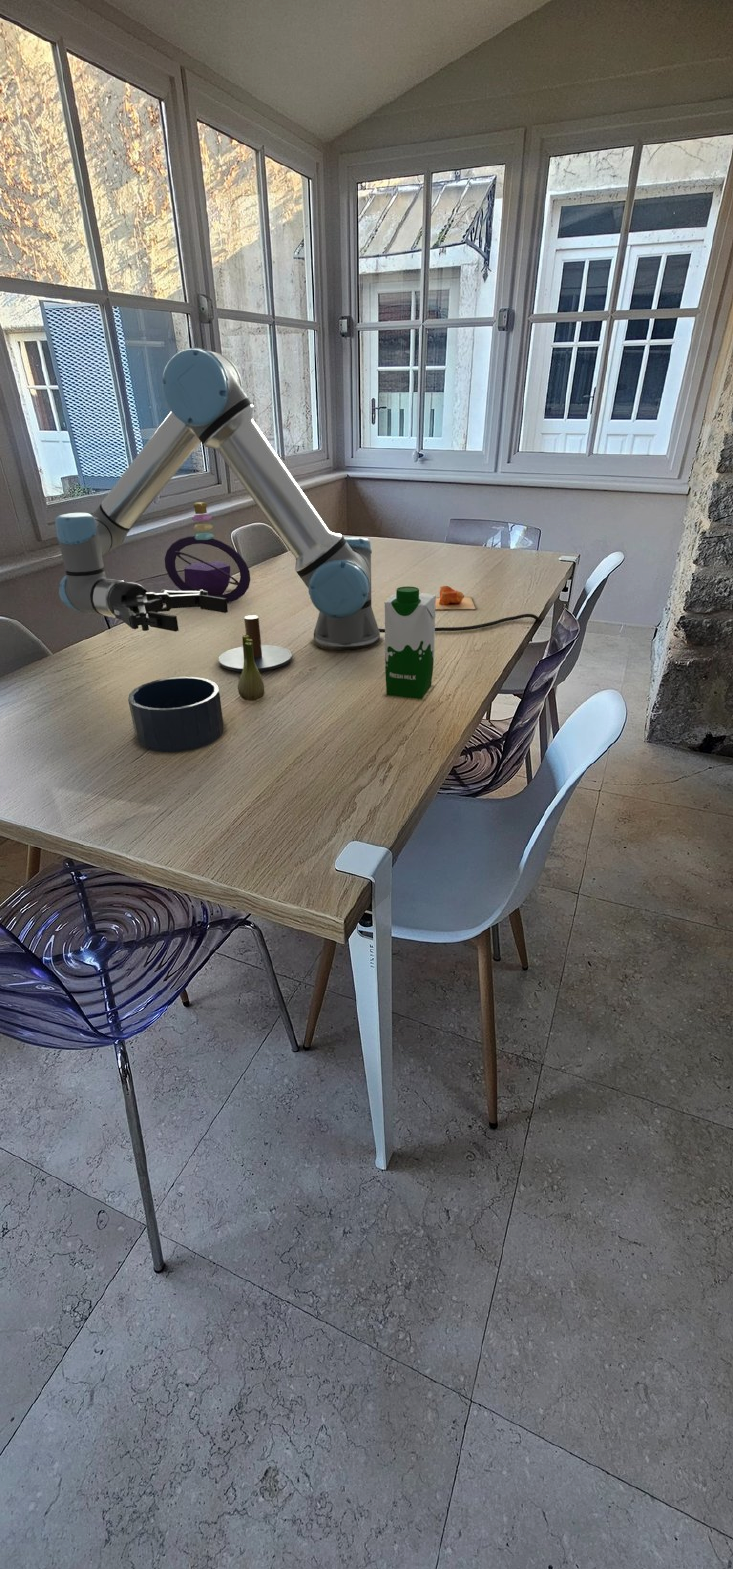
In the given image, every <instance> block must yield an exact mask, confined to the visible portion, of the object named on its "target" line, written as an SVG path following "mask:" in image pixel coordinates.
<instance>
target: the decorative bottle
mask: <svg viewBox="0 0 733 1569" xmlns="http://www.w3.org/2000/svg"><path fill="white" fill-rule="evenodd" d="M207 506H208V504H207V502H203V501H202V502H194V503H193V508H194V513H195V514H194V515H193V517H192V518H191V520H192V521H193V522H206V521H211V520H212V519H213V517H212V516H211V515H210V514H208V511H207ZM213 528H214V526H213V525H212V524H209V523H196V524H195V525H194V526H193V527H192V529H193V530H194V531H196V532H197V531H198V533H196V535H188V536H185V537H182V538H179V539H177V540H176V541H174V542H173V543H172V544H171V545H170V546H169V547H168V548H167V549H166V552H165V555H164V568H165V570H166V573H167V575H168V577H169V579H170V580H171V582H172V583H173V584H174V585H175V586H176V587H177V588H178V589H179V591H200V590H203V591H207V592H208V596H215V597H221V598H226V599H227V604H228V603H232V602H235V601H237V600H239V599H240V598H241V597H243V596H244V595H245V594H246V593H247V591H248V590H249V588H250V584H251V571H250V568H249V567H248V564H247V562H246V561H245V559H244V558H243V557H242V555H241V554H240V553H239V552H238V551H237V550H235V549H234V548H233V547H232V546H230V545H228V544H227V543H225V542H223V541H221V540H219V539H217V538H214V537H215V535H214V534H213V533H211V532H210V533H209V532H206V531H208V530H209V531H210V530H213ZM200 531H201V532H200ZM202 531H203V532H202ZM199 532H200V533H199ZM192 545H207V546H211V547H214V548H218V549H219V550H221V551H223V552H224V553H226V555H227V556H229V557H231V558H232V560H233V562H234V563H236V565H237V568H238V570H239V581H238V579H236V578H235V577H233V576H232V575H231V565H230V564H228V563H226V562H225V561H223V560H214V561H206V560H202V559H200V558H198V557H196V556H193V555H191V554H189V553H186V552H182V551H181V550H183V549H185V548H186V547H189V546H192ZM215 554H216V555H217V552H216V553H215ZM182 556H185V557H188V558H191V559H192V562H190V561H189V560H187V559H185V558H184V557H182ZM177 557H178V558H179V559H180V560H182V561H183V562H184V563H187V564H188V566H186V567H184V570H183V571H184V573H183V574H184V580H183V579H182V578H181V576H180V575H179V573H178V570H177V566H176V559H177ZM193 560H196V561H195V562H194V561H193ZM197 561H198V562H197ZM231 580H232V581H231ZM231 584H232V585H235V586H236V587H235V588H234V589H232V590H231V591H230V592H227V593H225V592H226V590H227V588H228V587H229V585H231Z"/></svg>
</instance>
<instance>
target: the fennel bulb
mask: <svg viewBox="0 0 733 1569" xmlns="http://www.w3.org/2000/svg"><path fill="white" fill-rule="evenodd" d="M241 640H242V646H243V653H244V666H243V671H241V674H240V676H239V679H238V684H237V691H238V695H239V696H240V698H241V699H242V700H244V701H246V702H256V701H258V700H260V699H262V698H263V697H264V696H265V684H264V680H263V678H262V675H261V673H260V671H259V670H258V668H257V666H256V664H255V661H254V653H253V640H252V639H250V637H249V635H246V634H243V635H242V639H241Z"/></svg>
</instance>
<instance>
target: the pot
mask: <svg viewBox="0 0 733 1569" xmlns="http://www.w3.org/2000/svg"><path fill="white" fill-rule="evenodd" d="M127 700H128V706H129V711H130V715H131V716H130V717H131V721H132V726H133V730H134V731H133V732H134V735H135V740H136V743H137V744H138V745H139V746H140V747H142V748H144V749H146V750H148V751H152V752H157V753H166V754H167V753H170V754H173V753H183V752H190V751H194V750H198V749H201V748H204V747H207V746H208V745H210V744H213V743H215V742H216V741H217V740H219V739H220V738H221V737H222V736H223V734H224V732H225V726H224V717H223V709H222V701H221V694H220V686H219V685H218V684H217V683H216V682H214V681H213V680H210V679H207V678H203V677H196V676H175V677H174V676H173V677H165V678H161V679H155V680H152V681H150V682H146V683H144V684H142V685H140V686H138V687H136V688H134V689H133V690H132V691H131V692H130V693H129V694H128V698H127Z"/></svg>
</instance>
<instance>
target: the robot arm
mask: <svg viewBox="0 0 733 1569" xmlns="http://www.w3.org/2000/svg"><path fill="white" fill-rule="evenodd" d="M161 389H162V394H163V395H162V396H163V399H164V401H165V404H166V406H167V407H168V409H169V410H170V412H169V414H168V415H167V416H166V417H165V419H164V420H163V421H162V423H161V424H160V425H159V427H157V429H156V430H155V432H154V433H153V434H152V436H151V437H150V438H149V439H148V441H147V442H146V444H145V445H144V446H143V448H142V449H141V450H140V451H139V453H138V454H137V455H136V456H135V458H134V459H133V460H132V462H131V463H130V464H129V466H128V467H127V468H126V469H125V471H124V472H123V473H122V475H121V476H120V478H119V479H118V480H117V481H116V483H115V484H114V485H113V487H112V488H111V489H110V490H109V491H108V493H107V494H106V496H105V497H104V498H103V500H102V501H101V503H100V504H99V505H98V506H97V508H96V509H95V510H94V512H93V513H92V514H91V513H88V512H69V513H64V514H59V515H57V516H56V518H55V519H54V522H55V530H56V539H57V540H58V545H59V549H60V553H61V558H62V562H63V566H64V570H65V575H64V576H63V577H62V579H61V580H60V581H59V582H60V583H59V588H58V595H59V597H60V600H61V602H62V603H63V604H64V605H65V606H66V607H68V608H69V609H72V610H75V611H78V612H80V613H84V614H92V615H98V616H103V617H109V618H113V619H114V620H115V621H118V620H121V621H122V622H123V623H124V624H126V625H127V626H128V627H129V628H130V629H132V630H138V629H139V628H140V627H139V626H141V630H142V632H148V631H150V628H156V629H160V630H166V631H169V632H178V631H179V623H178V617H177V615H173V614H169V613H164V612H170V611H171V610H172V609H173V610H174V609H185V608H186V609H190V608H200V610H205V611H211V612H217V613H222V614H228V612H229V608H228V603H227V599H226V598H221V597H215V596H208V592H207V591H203V590H200V591H182V590H170V589H169V590H168V589H162V590H160V592H154V591H147V589H146V588H145V587H144V586H143V585H142V584H139V583H137V582H131V581H124V580H120V579H115V578H114V579H113V578H107V577H106V570H105V564H104V560H103V556H104V555H106V554H107V553H110V552H111V551H114V550H116V549H118V548H120V547H121V545H122V544H123V543H124V542H126V539H127V537H128V534H129V533H130V531H131V530H132V528H133V527H134V525H135V524H136V523H137V522H138V520H139V519H140V518H141V517H142V516H143V514H144V513H145V512H146V511H147V509H148V508H149V507H150V506H151V504H152V503H153V502H154V501H155V500H156V498H157V497H158V496H159V494H160V493H161V492H162V491H163V489H164V488H166V486H167V484H168V483H170V481H171V480H172V478H173V477H174V476H175V474H177V472H178V471H179V470H180V468H181V467H182V466H183V465H184V464H185V462H187V460H188V459H189V457H190V456H191V455H192V454H193V452H194V451H195V450H196V449H197V447H198V446H199V445H200V443H201V444H202V445H203V447H204V448H208V449H214V450H216V451H217V452H218V453H219V455H220V456H221V458H222V459H223V460H224V462H225V463H226V464H227V466H228V467H229V468H230V470H231V471H232V472H233V474H234V475H235V477H236V478H237V479H238V481H239V482H240V484H241V485H242V487H243V488H244V489H245V491H246V492H247V493H248V495H249V496H250V497H251V499H252V500H253V501H254V503H255V505H257V507H258V508H259V510H260V511H261V513H262V514H263V516H264V517H265V518H266V519H267V521H268V522H269V523H270V526H272V528H273V529H274V530H275V532H276V533H277V535H278V536H279V537H280V539H281V540H282V541H283V543H284V545H285V546H286V547H287V548H288V550H289V551H290V553H291V554H292V555H293V557H294V558H295V567H294V570H295V572H296V574H297V575H298V576H299V578H300V580H301V581H302V582H303V583H304V585H305V586H306V588H307V590H308V594H309V598H310V600H311V603H312V604H313V606H314V607H315V608H316V610H317V611H318V617H317V619H316V624H315V627H314V630H313V642H314V645H316V646H317V647H318V648H321V649H323V650H328V651H335V652H353V651H354V652H355V651H361V650H362V651H363V650H366V649H370V648H372V647H375V646H376V645H378V644H379V643H380V641H381V633H384V634H385V628H379V625H378V622H377V620H376V617H375V614H374V611H373V607H372V553H373V550H372V545H371V541H370V539H369V538H367V537H359V536H356V537H355V536H343V534H341V533H338V532H334V531H333V532H332V531H331V530H330V529H329V527H328V526H327V525H326V523H325V522H324V520H323V519H322V517H321V516H320V515H319V513H318V511H317V510H316V509H315V507H314V506H313V504H312V502H311V501H310V500H309V499H308V497H307V496H306V494H305V493H304V492H303V490H302V489H301V487H300V485H299V484H298V483H297V481H296V480H295V478H294V477H293V475H292V474H291V472H290V471H289V470H288V468H287V467H286V465H285V464H284V462H283V461H282V459H281V458H280V457H279V455H278V453H277V452H276V451H275V449H274V448H273V447H272V445H271V444H270V443H269V441H268V439H267V438H266V436H265V435H264V434H263V431H261V429H260V428H259V426H258V425H257V423H256V422H255V420H254V411H255V410H254V408H255V405H254V404H253V402H251V400H250V398H249V397H248V396H247V394H246V393H245V391H244V386H243V380H242V376H241V374H240V372H239V370H238V368H237V367H236V365H235V364H234V362H233V361H232V360H230V359H229V358H228V357H227V356H225V355H224V354H222V353H219V352H217V351H213V350H208V349H205V348H202V347H189V348H186V349H183V350H181V351H179V352H177V353H176V354H174V355H173V356H172V357H171V358H170V359H169V360H168V361H167V363H166V365H165V367H164V370H163V373H162V380H161ZM164 605H165V607H164ZM525 618H531V619H534V620H535V621H537V622H540V621H541V618H540V617H539V616H538V615H536V614H535V613H534V614H533V613H523V614H518V615H514V616H507V617H503V618H500V619H496V620H493V621H489V622H484V623H480V624H475V625H468V626H453V627H448V626H447V627H446V626H445V627H435V632H461V631H462V632H463V631H471V630H477V629H481V628H487V627H492V626H495V625H499V624H502V623H504V622H510V621H515V620H519V619H525ZM149 627H150V628H149Z"/></svg>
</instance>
